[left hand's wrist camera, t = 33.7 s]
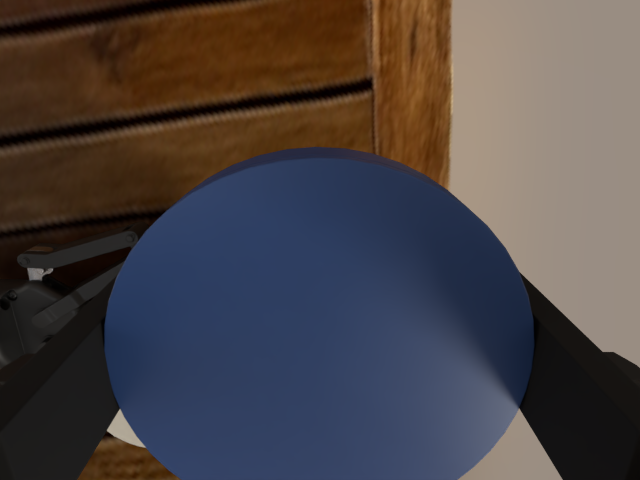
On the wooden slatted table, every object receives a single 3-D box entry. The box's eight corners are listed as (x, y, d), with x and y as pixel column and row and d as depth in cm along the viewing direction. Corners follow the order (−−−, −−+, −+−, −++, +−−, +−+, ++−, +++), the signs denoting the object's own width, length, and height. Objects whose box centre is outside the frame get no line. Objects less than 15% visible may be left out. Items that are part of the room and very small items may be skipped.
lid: (379, 517, 15) (386, 566, 13) (78, 394, 13) (47, 435, 11) (589, 270, 11) (629, 298, 10) (227, 60, 10) (211, 56, 8)
